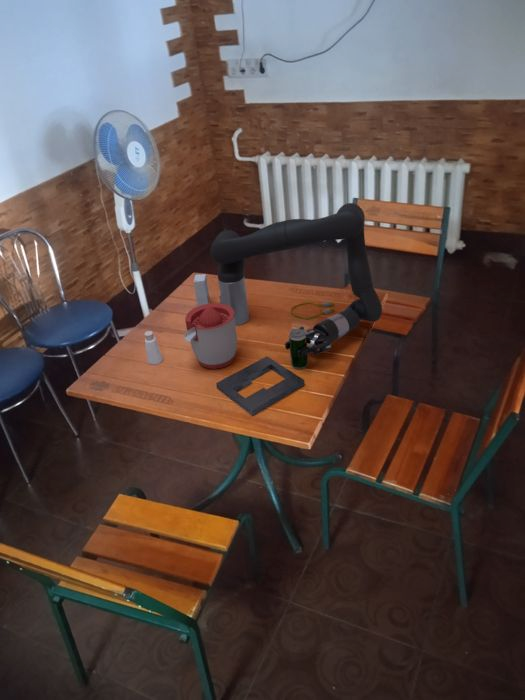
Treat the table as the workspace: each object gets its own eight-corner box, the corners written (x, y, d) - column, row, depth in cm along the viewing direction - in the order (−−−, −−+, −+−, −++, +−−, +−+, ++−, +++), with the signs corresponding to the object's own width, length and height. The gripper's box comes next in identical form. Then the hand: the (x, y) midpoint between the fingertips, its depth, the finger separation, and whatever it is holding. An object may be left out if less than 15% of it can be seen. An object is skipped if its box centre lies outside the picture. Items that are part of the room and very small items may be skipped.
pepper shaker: (157, 353, 191) (150, 326, 185) (166, 359, 188) (160, 331, 181) (144, 361, 188) (136, 333, 182) (153, 367, 185) (146, 339, 178)
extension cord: (329, 322, 198) (329, 318, 197) (287, 318, 203) (286, 314, 202) (337, 305, 207) (337, 301, 206) (296, 302, 212) (296, 297, 211)
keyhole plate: (267, 361, 181) (266, 356, 180) (304, 385, 169) (304, 379, 168) (217, 388, 172) (216, 383, 171) (252, 415, 160) (251, 410, 158)
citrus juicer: (180, 361, 186) (169, 309, 175) (223, 340, 194) (215, 289, 183) (205, 382, 175) (195, 328, 164) (250, 359, 183) (243, 306, 172)
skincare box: (209, 309, 213) (204, 281, 207) (198, 309, 214) (193, 281, 207) (210, 301, 218) (206, 273, 212) (199, 302, 219) (195, 274, 212)
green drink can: (293, 371, 175) (291, 339, 169) (289, 361, 180) (286, 330, 173) (310, 367, 176) (308, 335, 169) (305, 358, 181) (303, 326, 174)
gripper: (315, 311, 184) (276, 331, 176) (347, 327, 174) (307, 349, 166) (316, 330, 188) (278, 351, 180) (347, 347, 178) (308, 369, 170)
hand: (292, 350), depth 173 cm, fingers closed on green drink can, 5 cm apart
